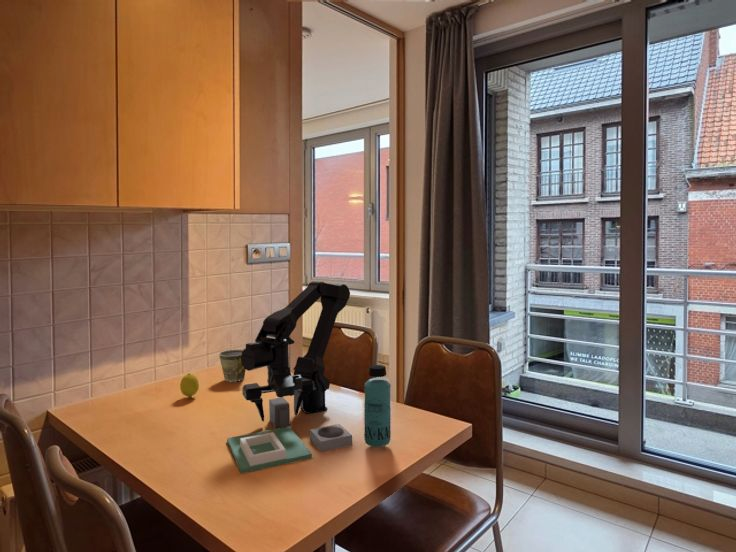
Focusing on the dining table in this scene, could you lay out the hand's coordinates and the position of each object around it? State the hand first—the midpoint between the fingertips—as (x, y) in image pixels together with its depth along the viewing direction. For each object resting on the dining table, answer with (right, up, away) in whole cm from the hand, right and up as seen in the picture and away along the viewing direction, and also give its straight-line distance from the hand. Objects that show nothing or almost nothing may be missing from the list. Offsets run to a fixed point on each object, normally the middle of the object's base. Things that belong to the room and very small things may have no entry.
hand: (279, 418), depth 129 cm
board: (0, -3, -16) cm, 17 cm away
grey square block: (+15, -2, -13) cm, 20 cm away
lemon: (-33, 0, +22) cm, 39 cm away
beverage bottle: (+27, -3, -16) cm, 31 cm away
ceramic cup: (-23, +1, +40) cm, 46 cm away
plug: (0, -1, 0) cm, 1 cm away
